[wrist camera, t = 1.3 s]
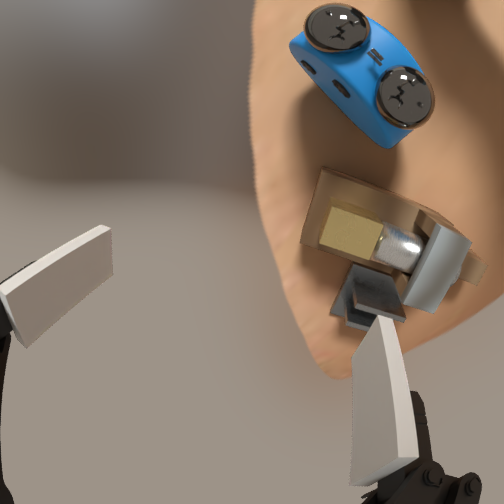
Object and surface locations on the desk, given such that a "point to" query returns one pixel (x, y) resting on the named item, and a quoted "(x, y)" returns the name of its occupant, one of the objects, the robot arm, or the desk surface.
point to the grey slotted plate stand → (367, 297)
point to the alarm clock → (364, 72)
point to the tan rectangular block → (350, 228)
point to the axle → (400, 249)
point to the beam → (406, 217)
